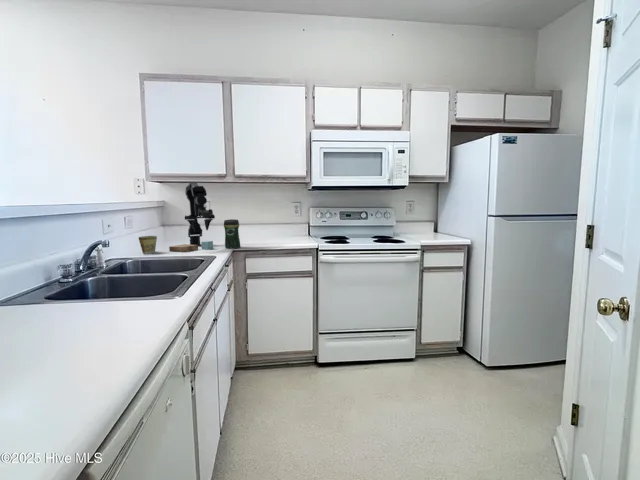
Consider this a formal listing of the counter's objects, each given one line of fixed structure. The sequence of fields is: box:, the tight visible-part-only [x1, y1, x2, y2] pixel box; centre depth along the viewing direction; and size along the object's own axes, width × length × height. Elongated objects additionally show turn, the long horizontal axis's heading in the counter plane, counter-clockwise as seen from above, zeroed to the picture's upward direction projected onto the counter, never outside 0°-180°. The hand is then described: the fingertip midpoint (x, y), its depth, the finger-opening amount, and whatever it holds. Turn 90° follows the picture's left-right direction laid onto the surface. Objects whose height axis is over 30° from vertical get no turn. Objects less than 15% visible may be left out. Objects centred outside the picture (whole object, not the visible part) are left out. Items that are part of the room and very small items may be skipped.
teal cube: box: [200, 240, 214, 251], centre depth 226 cm, size 5×5×5 cm
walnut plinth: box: [168, 243, 199, 253], centre depth 221 cm, size 12×12×3 cm
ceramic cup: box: [138, 235, 158, 254], centre depth 216 cm, size 13×10×10 cm
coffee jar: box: [223, 218, 241, 249], centre depth 228 cm, size 10×8×19 cm
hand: (201, 230), depth 223 cm, fingers open, 9 cm apart
